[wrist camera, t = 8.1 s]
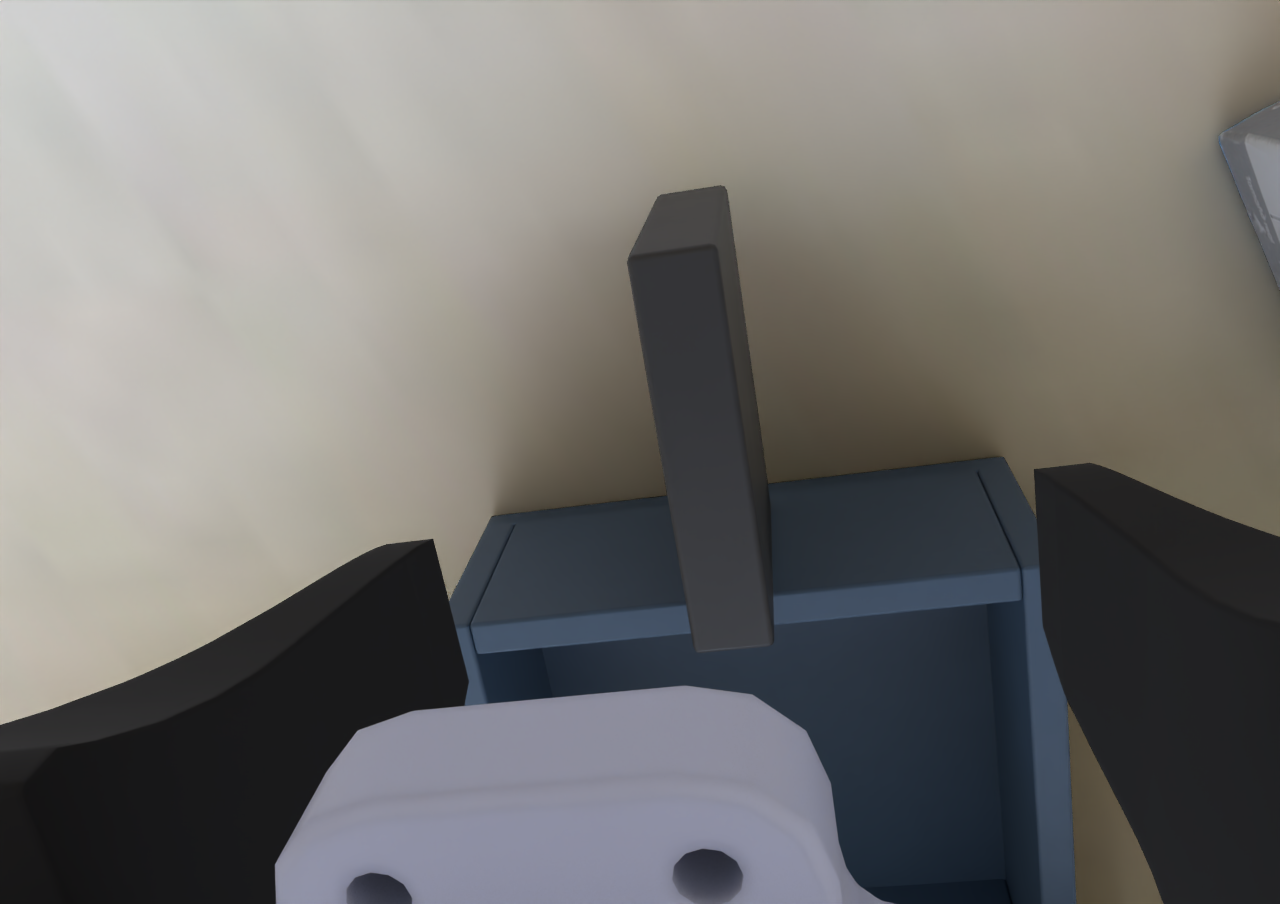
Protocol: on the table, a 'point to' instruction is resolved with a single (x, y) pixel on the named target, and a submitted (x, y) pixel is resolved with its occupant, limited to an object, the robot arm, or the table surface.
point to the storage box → (801, 605)
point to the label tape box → (1258, 175)
